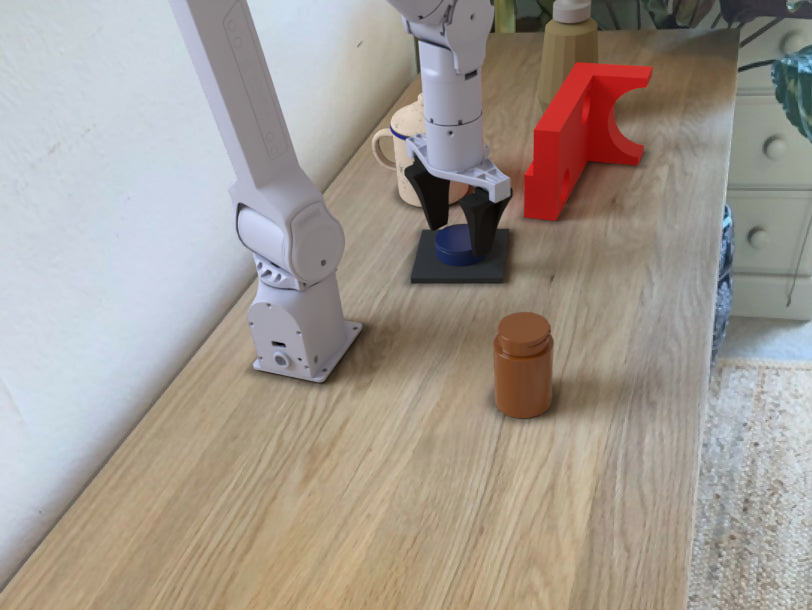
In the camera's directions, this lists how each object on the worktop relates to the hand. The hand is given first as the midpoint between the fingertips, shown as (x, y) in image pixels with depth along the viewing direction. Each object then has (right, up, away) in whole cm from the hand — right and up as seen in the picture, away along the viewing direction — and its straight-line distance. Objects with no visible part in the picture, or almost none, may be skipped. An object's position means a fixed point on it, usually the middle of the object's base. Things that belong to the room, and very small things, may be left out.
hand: (460, 239), depth 94 cm
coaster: (0, -1, +2) cm, 2 cm away
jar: (+5, -20, -15) cm, 25 cm away
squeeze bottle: (+16, +23, +22) cm, 35 cm away
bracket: (+16, +10, +10) cm, 21 cm away
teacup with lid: (-4, +10, +13) cm, 17 cm away
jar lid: (0, 0, 0) cm, 0 cm away
